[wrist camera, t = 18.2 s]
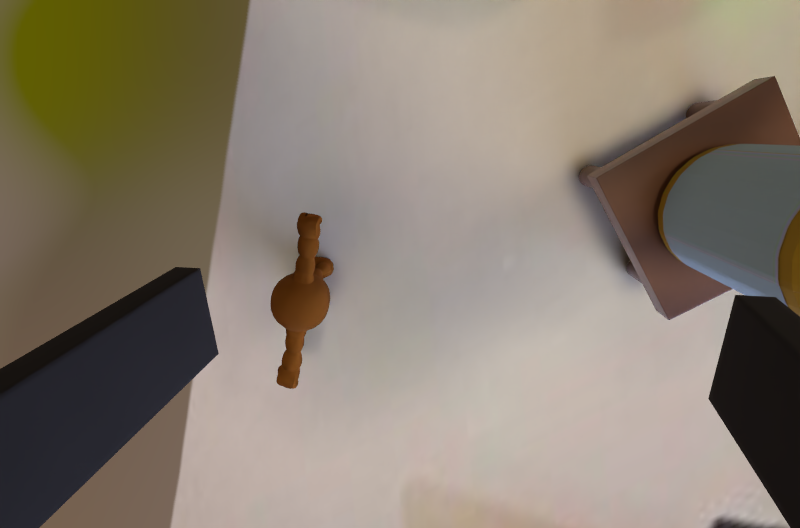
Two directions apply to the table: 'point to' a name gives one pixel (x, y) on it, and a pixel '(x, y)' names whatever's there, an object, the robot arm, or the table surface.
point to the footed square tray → (654, 168)
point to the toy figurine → (301, 298)
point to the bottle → (738, 218)
